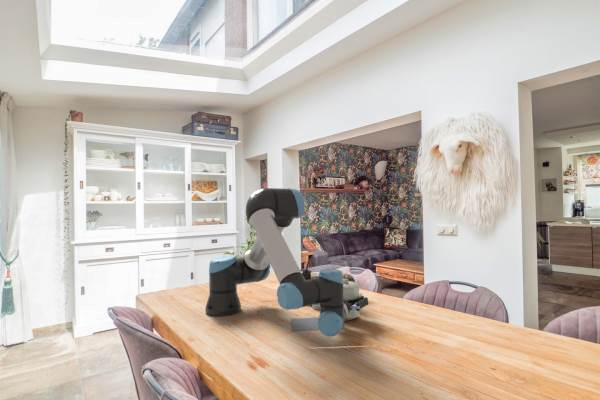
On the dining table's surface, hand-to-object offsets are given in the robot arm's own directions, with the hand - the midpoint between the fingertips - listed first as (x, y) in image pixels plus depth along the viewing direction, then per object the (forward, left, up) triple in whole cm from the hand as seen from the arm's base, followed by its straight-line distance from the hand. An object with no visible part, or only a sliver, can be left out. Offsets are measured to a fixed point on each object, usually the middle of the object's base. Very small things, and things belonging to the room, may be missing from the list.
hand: (347, 294), depth 135 cm
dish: (-1, -4, -8) cm, 9 cm away
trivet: (-16, -9, -8) cm, 20 cm away
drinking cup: (-17, +26, -8) cm, 32 cm away
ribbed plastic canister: (-1, -4, -7) cm, 8 cm away
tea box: (-6, +14, -9) cm, 18 cm away
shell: (+4, +26, -9) cm, 28 cm away
